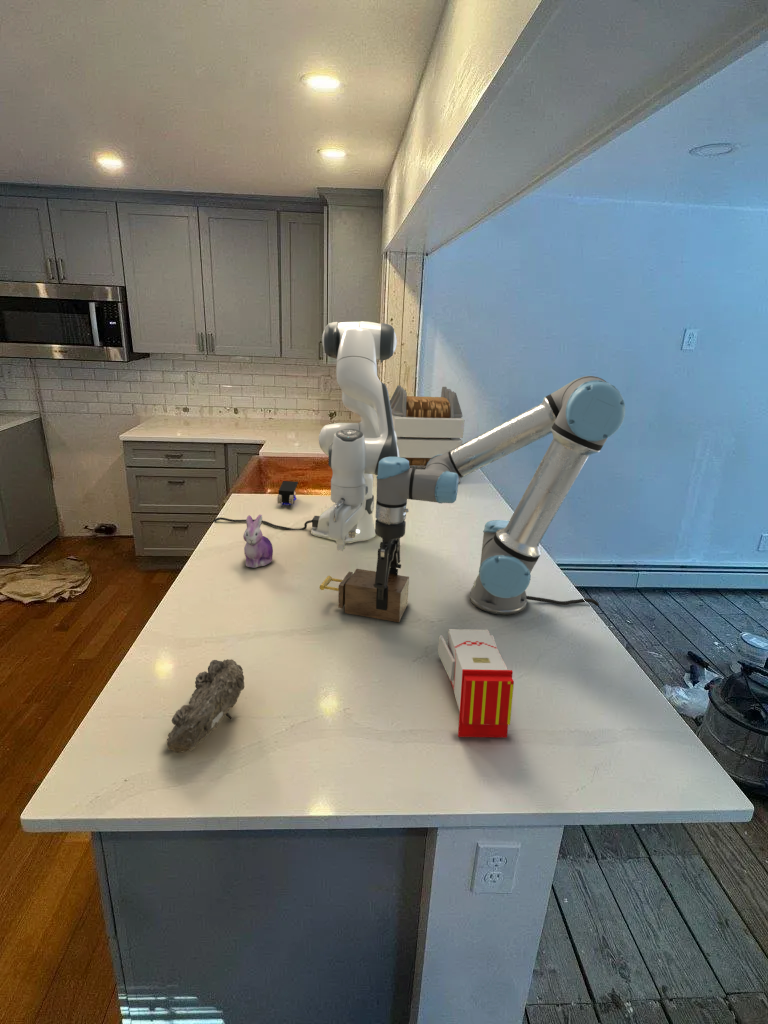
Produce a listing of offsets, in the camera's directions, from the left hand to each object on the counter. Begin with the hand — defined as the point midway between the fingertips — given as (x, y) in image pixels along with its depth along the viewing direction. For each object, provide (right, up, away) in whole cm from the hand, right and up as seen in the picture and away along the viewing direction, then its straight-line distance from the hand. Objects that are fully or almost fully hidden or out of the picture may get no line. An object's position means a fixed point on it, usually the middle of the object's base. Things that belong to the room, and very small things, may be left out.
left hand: (346, 543), depth 150 cm
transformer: (+27, +27, +125) cm, 130 cm away
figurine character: (-28, +12, +75) cm, 81 cm away
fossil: (-23, -31, -42) cm, 57 cm away
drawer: (+3, -16, 0) cm, 16 cm away
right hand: (+11, -15, -2) cm, 18 cm away
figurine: (-28, -7, +23) cm, 37 cm away
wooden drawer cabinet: (+8, -17, -1) cm, 19 cm away
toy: (+28, -29, -32) cm, 51 cm away
